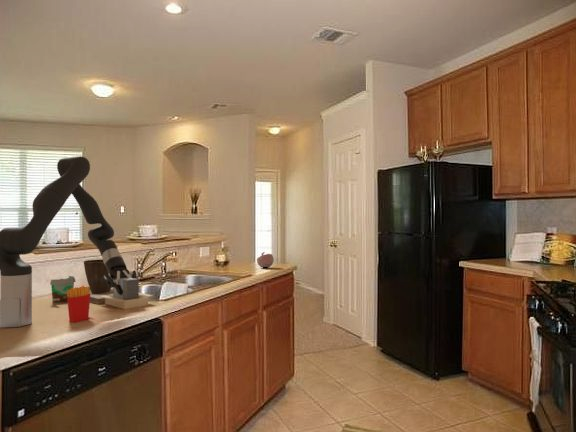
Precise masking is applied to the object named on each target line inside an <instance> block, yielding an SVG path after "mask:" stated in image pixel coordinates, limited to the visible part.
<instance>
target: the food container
mask: <svg viewBox="0 0 576 432" xmlns="http://www.w3.org/2000/svg"><path fill="white" fill-rule="evenodd" d="M75 283H76V277H75V276H73V275H69V276H68V277H67V278H59V279H50V284H49V285H51V287H50V288H51V297H52V303H65V302H66V303H68V301H67V297H68V295H67V292H66V291H67V290H68V289H69V290H70V289H71V288H75Z"/></svg>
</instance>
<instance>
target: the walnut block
mask: <svg viewBox="0 0 576 432" xmlns="http://www.w3.org/2000/svg"><path fill="white" fill-rule="evenodd" d="M103 295H106V296H108V295H113V291H110V292H107V293H100V294H92V293H91V294H90V303H93V304H95V305H103V304H105V298H102V297H99V296H103Z"/></svg>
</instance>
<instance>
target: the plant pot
mask: <svg viewBox="0 0 576 432" xmlns="http://www.w3.org/2000/svg"><path fill="white" fill-rule="evenodd" d="M83 267H84V268H83V269H84V272H85V276H86V281H87V285H88V286H89V291H90V292H91V295H92V294H100V293H107V292H111V289H112V288H110V287H109V285H108V284H107V283H106V281H105V280H104V279H103V277H104V275H105V273H107V274H109V273H108V271H107V269H106V266H105V264H104V262H103V258H102V259H100V258H99V259H87V260H83ZM111 279H112V280H113V278H111Z"/></svg>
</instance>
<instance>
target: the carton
mask: <svg viewBox="0 0 576 432" xmlns="http://www.w3.org/2000/svg"><path fill="white" fill-rule="evenodd" d="M99 297H102V298H105V303H104V304H105V305H108V306H111V307H115V308H119V309H123V310H126V309H127V310H128V309H133V308H139V307H145V306H149V298H152V297H154V295H152V294H148V293H143V292H139V298H138V299H131V300H122V299H118V298H114V297H113V295H108V296H106V295H103V296H99Z"/></svg>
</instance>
